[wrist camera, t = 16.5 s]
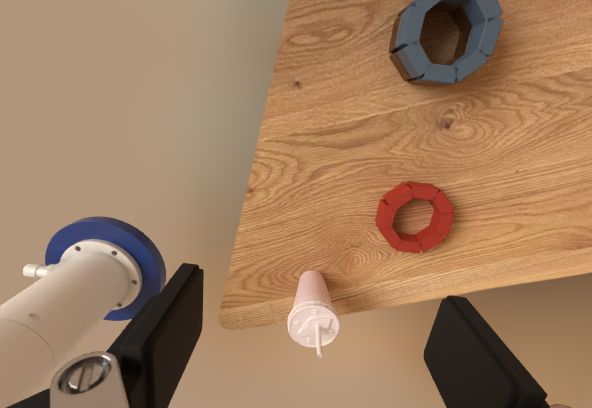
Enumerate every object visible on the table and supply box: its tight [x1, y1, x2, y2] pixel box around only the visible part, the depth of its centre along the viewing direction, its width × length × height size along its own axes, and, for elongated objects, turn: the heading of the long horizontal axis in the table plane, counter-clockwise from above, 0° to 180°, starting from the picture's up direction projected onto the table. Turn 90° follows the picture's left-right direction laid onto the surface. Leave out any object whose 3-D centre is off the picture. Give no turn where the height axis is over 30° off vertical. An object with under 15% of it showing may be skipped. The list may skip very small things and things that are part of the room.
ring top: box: [375, 181, 455, 253], centre depth 39 cm, size 9×9×2 cm
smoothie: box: [288, 271, 340, 358], centre depth 37 cm, size 6×6×14 cm
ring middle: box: [395, 0, 503, 85], centre depth 29 cm, size 9×9×2 cm
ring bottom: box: [389, 2, 473, 86], centre depth 32 cm, size 9×9×2 cm
